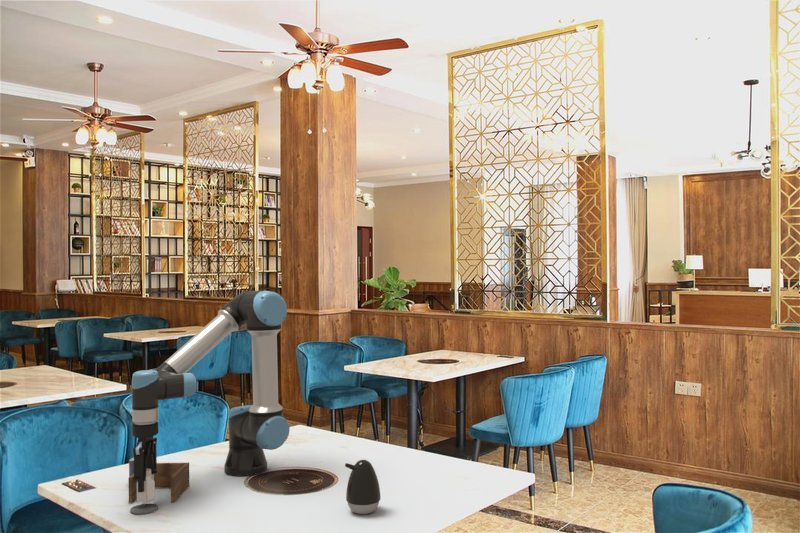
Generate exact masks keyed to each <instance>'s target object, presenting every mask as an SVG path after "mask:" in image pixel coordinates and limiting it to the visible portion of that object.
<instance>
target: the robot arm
mask: <svg viewBox="0 0 800 533" xmlns="http://www.w3.org/2000/svg"><path fill="white" fill-rule="evenodd" d="M287 314H288V306H287V304H286V301H285V299H284V298H283V297H282V296H281V295H280V294H279V293H277V292H275V291H271V290H246V291H243V292H241V293H239V294H237V295H236V296H235V297H233V298H231V300H230V301H228V302H227V303H226V304H225V305H224V306H222V308H220V309H219V310H217V315H216V316H215V317H214V318H213V319H212V320H211V321H209V322H208V323H207V324H206V325H204V327H203V328H202V329H201V330H199V331H198V332H197V333H196V334H195V335H194V336H192V337H191V338H190V339H189V340H188V341H186V343H185V344H183V345H182V346H181V347H180V348H179V349H177V350H176V351H175V352H173V354H172V355H171V356H169V358H167V359H166V360H165V361H163V363H161V364H160V365H158V367H156V368H152V369H147V370H138V371H135V372H133V373H132V377H131V411H130V415H131V416H132V417H131V421H132V425H131V436H132V437H134V438H137V442H136V447H133V448H132V451H133V452H132V453H133V457H134V481H137V499H136V501H137V503H141V504H143V503H142V502H147V480H146V470H147V468H148V469H151V479H153V480H154V474H153V473H157V470H156V469H157V463H158V459H157V453H158V452H157V443H158V437H156V436H157V435H158V434H159V422H158V421H159V420H160V419H159V401H164V400H165V401H166V400H171V399H180V398H183V399H185V398H188V397H192V396H193V395H195V394H196V392H197V388H198V387H197V386H198V384H197V383H198V382H197V378H196V376H195V375H194V373H192V372H188V371H190V370H191V369H192V368H194V366H196V364H197V363H198V362H200V361H201V360H202V359H203V358H204V357H205V356H206V355H208V353H210V352H211V351H212V350H213V349H214V348H215V347H217V346H218V345H219V344H220V343H221V342H222V341H223V340H225V338H226V337H228V336H229V335H230V334H231V333H233V332H238V331H239V330H240V329H241V328H242V327H244V326H246V332H248V333H249V335H250V336H251V359H252V360H251V364H252V365H251V366H252V368H251V369H252V370H251V371H252V372H251V375H252V404H247V405H241V406H235V407H231V409H230V410H229V411H228V412H229V413H228V444H229V446H228V453H227V455H226V459H225V462H224V466H223V467H224V469H223V470H224V474H226V475H228V476H234V477H247V476H255V475H259V474H262V473H264V472H266V471H268V460H267V457H266V455H265V451H264V450H268V451H269V450H270V451H271V450H272V451H273V450H276V449H279V448H280V447H282V446H283V445H284V443H285V442H286V441H287V439H288V437H289V435H290V424H289V422H288V420H287V419H286V418H285V417H284V407H283V406H282V405H281V404H280V403H279V380H278V379H279V377H278V376H279V375H278V374H279V372H278V368H279V367H278V337H277V336H278V333H279V332H280V331H281V330H282V323H283V322H284V320H285V319H286V318H287ZM154 436H155V437H154ZM254 474H255V475H254Z"/></svg>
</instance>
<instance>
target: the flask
mask: <svg viewBox="0 0 800 533" xmlns="http://www.w3.org/2000/svg"><path fill="white" fill-rule="evenodd" d="M128 472H129V473H128V478H129V477H130V476H131V475H133V474H134V456H133V457H131V458H130V459H129V460H128Z"/></svg>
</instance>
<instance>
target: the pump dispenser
mask: <svg viewBox="0 0 800 533" xmlns="http://www.w3.org/2000/svg"><path fill="white" fill-rule="evenodd" d="M344 466H345V467H346V469H347V468H348V469H350V470H351V471H350V474H349V478H348V480H347V486H346V494H345V500H346V502H347V505H348V508H349V509H350V510H351V511H352V512H353V513H355V514H358V515H368V514H369V515H370V514H372V513H373V512H374V511H376V510H377V508H378V506H379V504H380V500H381V488H380V483H379V478H378V476H377V473H376V471H375V468H374V466H373V465H372V463H371V462H370V461H368V460H367V459H359V460H357V461H356V462H355V464H352V463H345V465H344Z"/></svg>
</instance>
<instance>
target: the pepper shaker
mask: <svg viewBox="0 0 800 533" xmlns="http://www.w3.org/2000/svg"><path fill="white" fill-rule="evenodd" d="M146 480H147V502H142V503H141V504H148V503H150V502H153V501H155V499H156V496H155V495H156V494H155V492H156V488H155V481H154V480H153V479H151V469H148V468H147V470H146Z"/></svg>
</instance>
